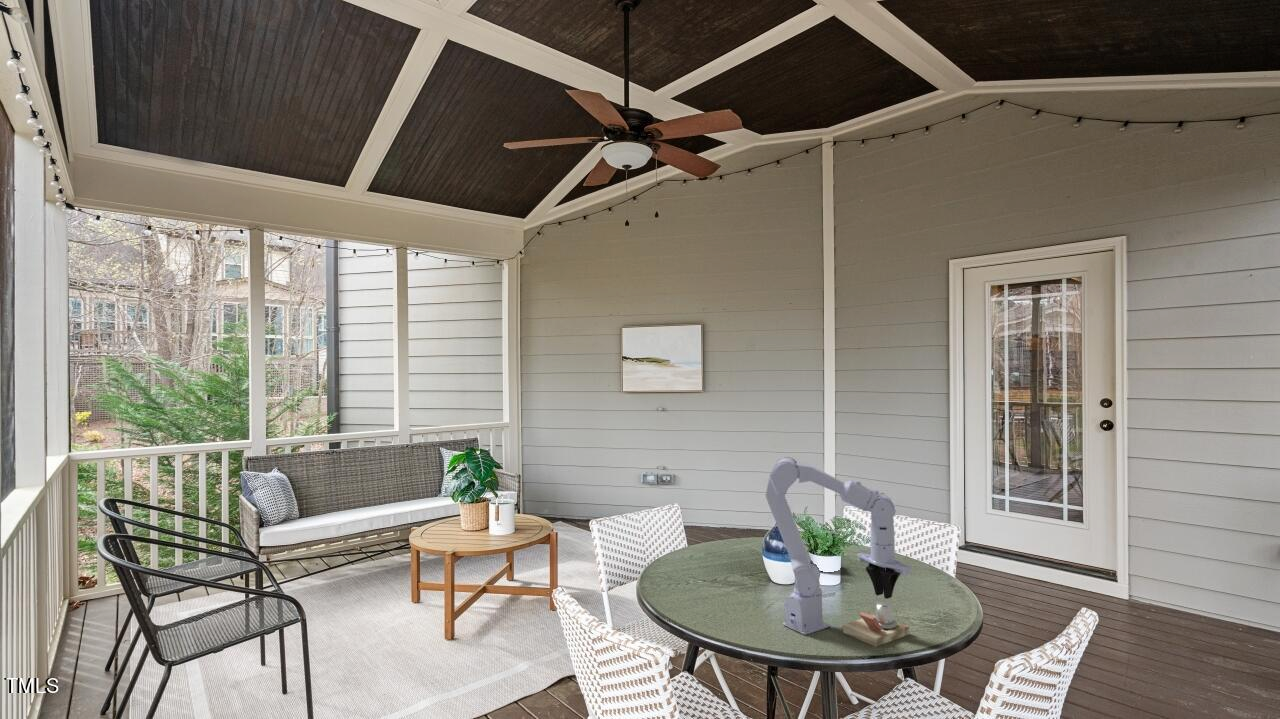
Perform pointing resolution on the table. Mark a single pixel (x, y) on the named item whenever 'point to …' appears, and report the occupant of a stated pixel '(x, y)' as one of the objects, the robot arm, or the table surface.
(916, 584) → the table surface
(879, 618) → the silver knob
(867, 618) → the latch tab
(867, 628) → the hitch block
